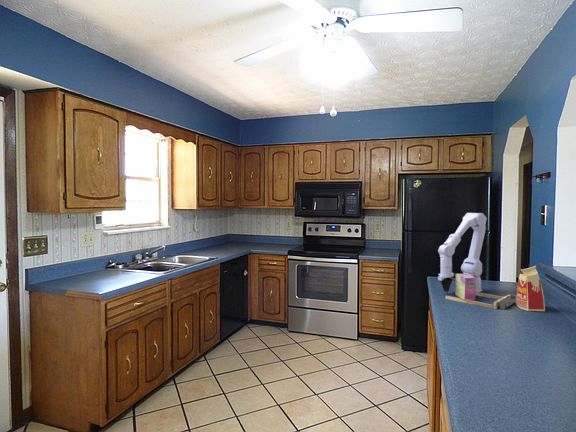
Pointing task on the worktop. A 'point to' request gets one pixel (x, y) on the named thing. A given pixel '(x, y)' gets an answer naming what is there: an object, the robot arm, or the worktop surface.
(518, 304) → the milk carton
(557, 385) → the worktop surface
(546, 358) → the worktop surface
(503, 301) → the bay
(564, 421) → the worktop surface
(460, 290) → the box
